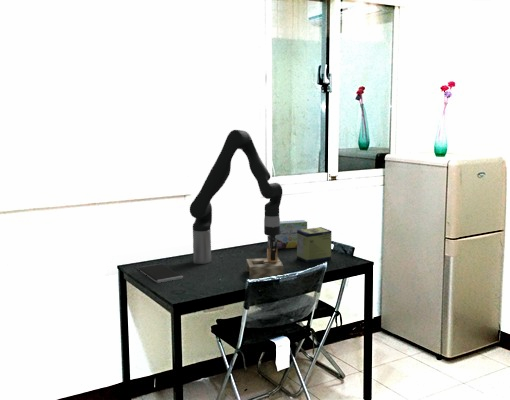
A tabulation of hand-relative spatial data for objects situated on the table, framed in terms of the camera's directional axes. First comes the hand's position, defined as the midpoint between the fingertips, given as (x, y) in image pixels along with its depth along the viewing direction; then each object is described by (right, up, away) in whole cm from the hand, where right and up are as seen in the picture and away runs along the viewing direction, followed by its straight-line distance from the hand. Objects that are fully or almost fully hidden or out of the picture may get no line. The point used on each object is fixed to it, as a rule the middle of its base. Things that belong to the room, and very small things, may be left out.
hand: (272, 258), depth 284 cm
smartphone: (-55, -8, +4) cm, 56 cm away
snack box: (+11, +1, +52) cm, 53 cm away
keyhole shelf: (-4, -8, +1) cm, 8 cm away
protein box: (+23, -3, +27) cm, 36 cm away
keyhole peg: (0, -4, +1) cm, 4 cm away
